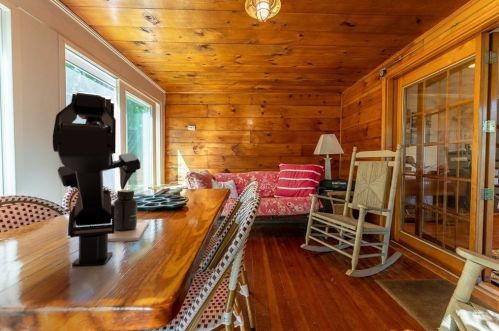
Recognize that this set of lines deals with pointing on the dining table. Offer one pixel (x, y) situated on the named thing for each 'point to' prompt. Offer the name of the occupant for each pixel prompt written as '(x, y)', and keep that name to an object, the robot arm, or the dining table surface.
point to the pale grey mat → (129, 233)
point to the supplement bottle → (125, 211)
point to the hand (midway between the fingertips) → (105, 193)
